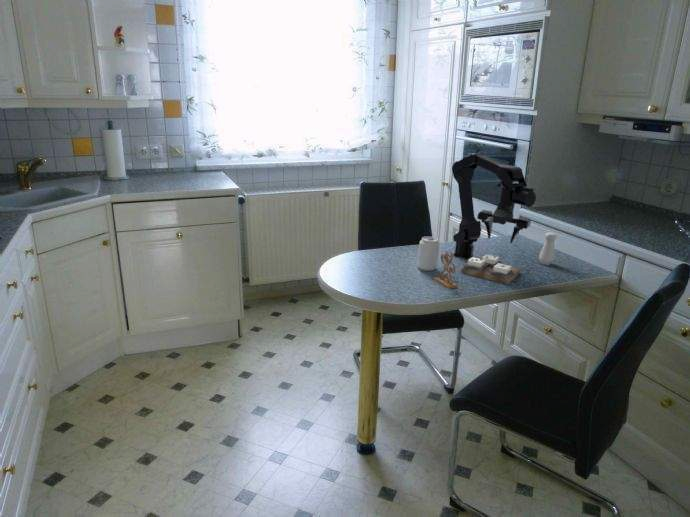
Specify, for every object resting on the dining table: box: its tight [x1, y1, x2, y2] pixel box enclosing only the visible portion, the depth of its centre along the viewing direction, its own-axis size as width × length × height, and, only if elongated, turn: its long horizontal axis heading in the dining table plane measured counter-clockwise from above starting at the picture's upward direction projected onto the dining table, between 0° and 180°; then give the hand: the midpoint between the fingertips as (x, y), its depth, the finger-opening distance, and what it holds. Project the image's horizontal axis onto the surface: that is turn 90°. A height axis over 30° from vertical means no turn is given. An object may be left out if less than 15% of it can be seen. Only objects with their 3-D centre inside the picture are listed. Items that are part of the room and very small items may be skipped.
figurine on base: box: [433, 251, 458, 290], centre depth 180 cm, size 9×4×12 cm, turn 27°
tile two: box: [481, 253, 500, 264], centre depth 198 cm, size 5×5×2 cm
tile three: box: [466, 256, 485, 268], centre depth 194 cm, size 5×5×2 cm
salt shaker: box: [538, 231, 557, 266], centre depth 208 cm, size 6×6×13 cm
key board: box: [460, 260, 521, 285], centre depth 195 cm, size 18×15×3 cm
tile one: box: [493, 263, 512, 274], centre depth 189 cm, size 5×5×2 cm
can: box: [416, 236, 441, 272], centre depth 194 cm, size 8×8×12 cm
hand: (500, 240), depth 195 cm, fingers open, 8 cm apart
